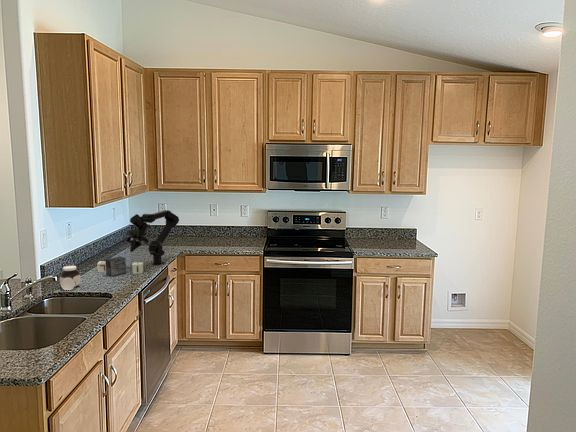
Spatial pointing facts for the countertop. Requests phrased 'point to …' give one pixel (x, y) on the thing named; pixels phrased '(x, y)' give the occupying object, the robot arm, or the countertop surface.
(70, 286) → the spread jar
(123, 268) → the small box
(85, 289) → the countertop surface
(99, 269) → the cream block seven
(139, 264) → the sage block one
